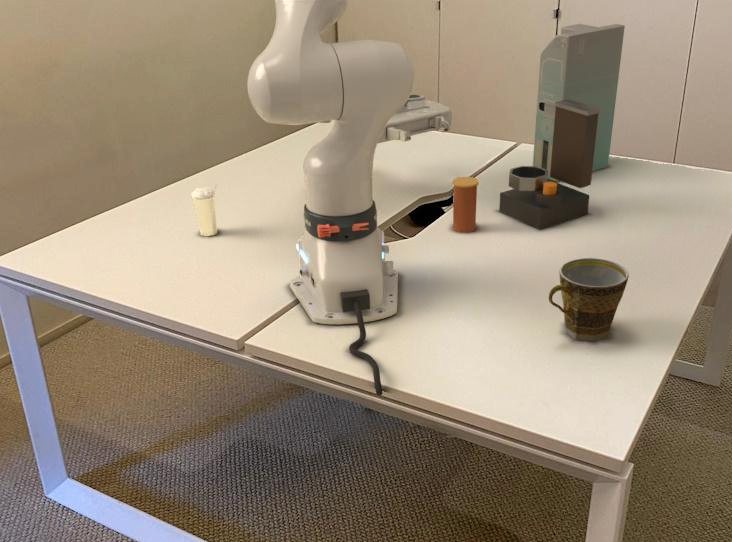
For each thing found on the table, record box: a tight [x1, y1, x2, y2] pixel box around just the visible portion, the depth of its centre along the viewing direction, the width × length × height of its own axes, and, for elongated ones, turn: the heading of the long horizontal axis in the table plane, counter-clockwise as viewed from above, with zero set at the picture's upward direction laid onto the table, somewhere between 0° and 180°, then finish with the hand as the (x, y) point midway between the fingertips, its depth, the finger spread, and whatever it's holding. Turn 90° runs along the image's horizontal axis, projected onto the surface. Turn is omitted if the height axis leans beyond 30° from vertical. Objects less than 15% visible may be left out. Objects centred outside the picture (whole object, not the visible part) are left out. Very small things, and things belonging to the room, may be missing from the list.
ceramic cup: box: [548, 257, 630, 343], centre depth 126 cm, size 13×10×10 cm
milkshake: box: [190, 184, 218, 237], centre depth 164 cm, size 4×5×10 cm
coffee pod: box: [451, 176, 480, 233], centre depth 162 cm, size 5×5×10 cm
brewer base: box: [498, 178, 590, 230], centre depth 168 cm, size 13×13×6 cm
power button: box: [543, 181, 558, 195], centre depth 163 cm, size 3×3×2 cm
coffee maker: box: [508, 99, 600, 191], centre depth 163 cm, size 12×13×15 cm
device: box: [532, 23, 626, 183], centre depth 183 cm, size 16×8×30 cm, turn 124°
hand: (427, 132), depth 164 cm, fingers open, 8 cm apart
